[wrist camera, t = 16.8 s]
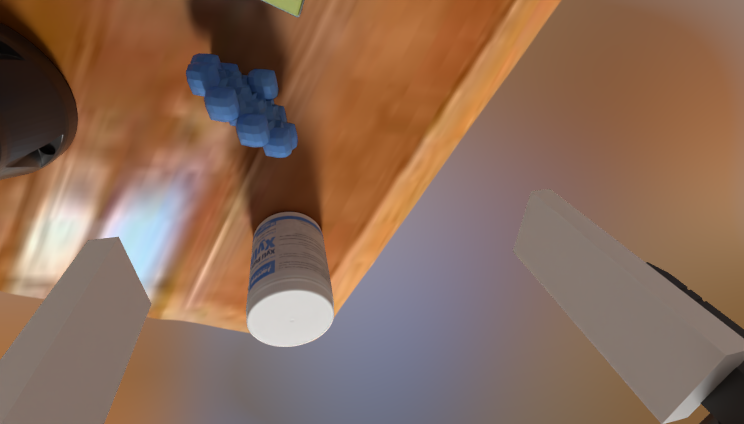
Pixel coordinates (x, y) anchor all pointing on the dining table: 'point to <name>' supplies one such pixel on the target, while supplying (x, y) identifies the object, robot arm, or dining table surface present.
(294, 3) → the protein box
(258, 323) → the supplement tub
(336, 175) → the dining table surface
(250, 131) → the grapes
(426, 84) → the dining table surface
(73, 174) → the dining table surface
